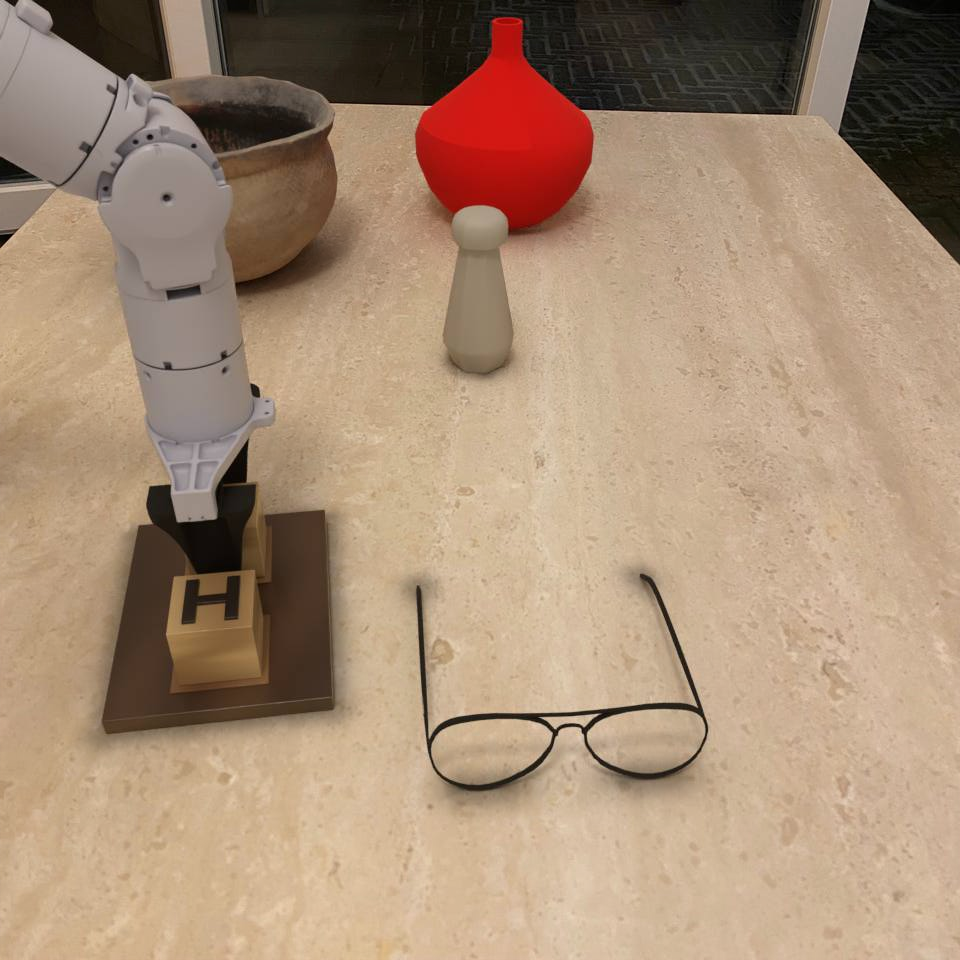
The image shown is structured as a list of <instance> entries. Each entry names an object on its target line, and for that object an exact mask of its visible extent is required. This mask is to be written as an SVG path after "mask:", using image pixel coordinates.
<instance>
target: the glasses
mask: <svg viewBox="0 0 960 960" xmlns="http://www.w3.org/2000/svg"><path fill="white" fill-rule="evenodd" d="M639 577H640V578H641V579H642V580H644V581H646V583H647V584H648V585H649V586H650V587H649V588H651V590H652V593H653V594H654V597H655V599H656V601H657V604H658V606H659V609H660V612H661V614H662V617H663V619H664V621H665V625H666V627H667V630H668V632H669V635H670V637H671V640H672V643H673V645H674V648H675V651H676V653H677V656H678V659H679V662H680V664H681V667H682V670H683V672H684V675H685V679H686V680H687V683H688V685H689V688H690V690H691V693H692V696H693V698H694V701H695V704H696V706H695V705H693V704H690V703H685V702H649V703H641V704H633V705H627V706H617V707H608V708H598V709H589V710H577V711H562V712H561V711H560V712H515V713H514V712H488V713H486V712H485V713H474V714H466V715H460V716H455V717H451V718H448V719H446V720H444V721H442V722H441V723H439V724H438V725H437V726H436V727H435V728H434V730H433V731H432V732H431V735H429V734H430V733H429V729H430V728H429V710H428V709H429V708H428V687H427V686H428V685H427V671H426V670H427V669H426V650H425V649H426V648H425V634H424V633H425V632H424V616H423V599H422V598H423V597H422V589H421V586H420V584H419V585H418V584H417V585H416V587H415V593H416V594H415V597H416V612H417V613H416V614H417V615H416V617H417V634H418V635H417V636H418V653H419V654H418V655H419V672H420V687H421V689H420V690H421V706H422V707H421V708H422V717H423V723H424V732H425V733H424V734H425V742H426V747H427V753H428V757H429V760H430V763H431V766H432V769H433V770H434V772H435V773H436V775H437V776H438V777H439V778H440V779H441V780H443V781H445V782H447V783H448V784H449V785H451V786H454V787H457V788H460V789H466V790H469V791H470V790H472V791H482V790H483V791H484V790H491V789H495V788H498V787H501V786H504V785H507V784H510V783H512V782H514V781H516V780H519V779H521V778H523V777H526V776H527V775H529V774H530V773H532V772H534V771H536V769H538V767H539V766H541V765H542V764H543V763H544V761H545V760H546V759H547V757H548V756H549V755H550V753H551V752H552V750H553V748H554V746H555V741H556V738H557V737H558V736H559V733H560V731H561V730H563V729H566V728H567V729H568V728H577V729H578V728H579V729H581V730H580V732H581V735H583V742H584V746H585V748H586V749H587V751H588V752H589V754H590V755H591V756H592V758H593V759H594V760H595V761H596V762H597V763H598V764H599V765H600V766H601V767H604V768H606V769H608V770H610V771H612V772H616V773H618V774H621V775H624V776H627V777H631V778H636V779H658V778H663V777H667V776H670V775H672V774H675V773H677V772H679V771H681V770H683V769H685V768H686V767H687V766H689V765H690V764H692V762H693V761H695V760H696V759H697V758H698V756H699V754H700V753H702V749H703V747H704V745H705V743H706V742H707V739H708V735H709V724H708V721H707V717H706V715H705V712H704V709H703V705H702V702H701V699H700V697H699V694H698V691H697V688H696V684H695V682H694V679H693V677H692V674H691V671H690V668H689V665H688V663H687V659H686V657H685V655H684V652H683V648H682V647H681V644H680V641H679V638H678V636H677V633H676V630H675V628H674V625H673V623H672V619H671V618H670V615H669V612H668V610H667V608H666V605H665V602H664V600H663V598H662V594H661V592H660V591H659V589H658V586H657V584H656V582H655V581H654V579H653V578H652V577H651V576H649V575H647V574H645V573H640V574H639ZM651 710H654V711H655V710H675V711H676V710H677V711H678V710H679V711H688V712H692V713H694V714H697V715H698V716H699V717H700V718H701V719H702V722H703V724H704V736H703V739H702V741H701V743H700V746H699V747H698V749H697V750H696V752H695V753H694V754H693V755H692V756H691V757H690V758H688V759H687V760H686V761H684V762H683V763H682V764H679V765H677V766H675V767H673V768H670V769H667V770H663V771H657V772H648V773H647V772H638V771H637V772H636V771H631V770H626V769H624V768H621V767H618V766H615V765H613V764H611V763H609V762H607V761H606V760H604V759H602V758H601V757H600V756H599V755H598V754H597V753H596V752H595V751H594V750H593V748H592V747H591V746H590V743H589V742H588V741H589V740H588V732H589V731H590V730H591V729H592V728H593V727H594V726H595V725H596V724H597V723H599V722H601V721H603V720H605V719H609V718H610V717H614V716H617V715H618V716H619V715H621V714H625V713H632V712H633V713H634V712H640V711H641V712H642V711H651ZM592 715H595V716H594V717H592V719H590V720H589V722H587V724H586V725H585V726H584V725H582V724H581V723H577V722H568V723H564V724H560V725H558V726H557V727H556V728H554V727H553V725H552V724H551V723H550V722H549V721H548V720H546V719H544V718H564V717H565V718H568V717H580V716H592ZM491 720H519V721H520V720H521V721H528V722H533V723H537V724H539V725H542V726H544V727H546V728H547V729H548V730H549V732H551V734H552V735H551V739H550V743H549V744H548V746H547V747H546V749H545V750H544V751H543V753H542V754H541V755H540V756H539V757H538V758H537V759H536V760H535V761H534V762H532V763H531V764H530V765H528V766H527V767H526V768H524V769H522V770H520V771H519V772H516V773H514V774H513V775H510V776H508V777H506V778H503V779H500V780H497V781H493V782H490V783H482V784H468V783H463V782H458V781H455V780H452V779H450V778H448V777H446V775H443V774H442V773H441V772H440V771H439V770H438V768H437V767H436V765H435V762H434V759H433V754H432V746H433V742H434V740H435V738H436V737H437V736H438V735H439V734H440V733H441V732H442V731H443V730H445V729H447V728H449V727H452V726H456V725H460V724H465V723H472V722H478V721H491Z"/></svg>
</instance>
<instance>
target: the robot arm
mask: <svg viewBox="0 0 960 960" xmlns="http://www.w3.org/2000/svg"><path fill="white" fill-rule="evenodd" d="M53 25H54V21H53V19H52V16H51V14H50V12H49V11H48V10H46V9H45V8H44V7H42V6H40V5H39V4H38V3H36V2H35V1H34V0H18V1H17V2H16V4H15V5H12V4H11V3H9V2H8V1H6V0H0V158H3V159H4V160H6V161H8V162H10V163H11V164H14V165H15V166H17V167H18V168H21V169H22V170H24V171H26V172H27V173H29V174H31V175H33V176H35V177H37V178H38V179H40V180H42V181H44V182H45V183H47V184H49V185H50V186H53V187H54V188H57V189H58V190H59V191H61V192H63V193H66V194H69V195H73V196H77V197H82V198H86V199H88V200H91V201H92V202H93V201H94V202H98V200H99V202H98V204H97V211H98V214H99V216H100V219H101V221H102V222H103V224H104V226H105V227H106V229H107V231H108V232H109V233H110V236H111V240H112V244H113V249H114V254H115V262H114V266H113V271H114V272H113V273H114V274H113V275H114V279H115V284H116V287H117V291H118V295H119V300H120V304H121V309H122V313H123V318H124V321H125V326H126V330H127V334H128V339H129V343H130V347H131V352H132V356H133V361H134V365H135V370H136V374H137V379H138V383H139V388H140V391H141V396H142V400H143V405H144V408H145V412H146V413H145V415H144V425H145V429H146V433H147V436H148V438H149V441H150V442H151V445H152V447H153V450H155V454H156V455H157V457H158V459H159V461H160V463H161V466H162V467H163V470H164V472H165V474H166V476H167V478H168V480H169V483H170V484H158V485H149V487H148V492H147V497H146V502H145V507H146V511H147V515H148V517H149V520H150V521H151V524H154V525H156V526H157V527H159V528H161V529H162V530H163V531H165V532H166V533H167V534H169V535H170V536H171V537H172V538H173V539H174V540H175V541H176V542H177V543H178V545H179V546H180V547H181V548H182V550H183V551H184V553H185V555H186V556H187V558H188V559H189V561H190V563H191V565H192V566H193V568H194V570H195V571H196V573H197V575H199V574H210V573H221V572H232V571H241V567H242V538H243V533H244V529H245V526H246V524H247V522H248V520H249V518H250V517H251V515H252V512H253V508H254V505H255V497H256V484H251V485H239V486H226V487H224V485H223V484H235V483H247V482H248V458H249V456H248V455H249V443H250V439H251V438H250V437H251V435H252V434H253V432H254V431H255V430H256V429H259V428H268V427H271V426H273V425H274V424H275V423H276V415H277V413H276V412H277V408H276V402H275V399H273V398H271V397H261V391H260V390H261V389H260V387H259V386H258V385H257V384H255V383H252V382H251V381H250V375H249V368H248V360H247V355H246V354H247V353H246V349H245V343H244V342H245V341H244V334H243V328H242V321H241V315H240V310H239V308H240V307H239V302H238V295H237V289H236V283H235V282H234V275H233V269H232V262H231V258H230V255H229V254H228V252H227V251H226V246H225V239H226V233H225V228H224V227H225V225H226V223H227V221H228V219H229V216H230V213H231V209H232V204H233V188H232V187H231V186H230V185H226V179H225V175H224V172H223V169H222V167H221V166H220V164H219V162H218V159H217V158H216V156H215V155H214V153H213V151H212V150H211V148H210V146H209V145H208V143H207V142H206V140H205V138H204V137H203V135H202V133H201V132H200V130H199V129H198V127H197V126H196V124H195V123H194V122H193V121H192V120H191V119H190V117H189V116H188V115H186V114H185V113H184V112H183V111H182V110H181V109H179V108H178V107H177V106H176V105H175V103H174V102H173V100H172V99H171V98H170V97H169V96H167V95H165V94H162V93H159V92H154V91H153V90H152V89H151V87H150V85H149V84H148V83H146V82H145V81H146V80H144V79H142V78H140V77H139V76H138V75H137V74H134V73H131V74H129V75H128V77H127V79H126V80H125V79H123V78H122V77H120V76H119V75H117V74H116V73H114V72H112V71H111V70H109V69H108V68H106V67H105V66H104V65H102V64H101V63H99V62H97V61H96V60H95V59H93V58H91V57H90V56H88V55H87V54H86V53H84V52H82V51H81V50H80V49H78V48H76V47H75V46H74V45H72V44H70V43H69V42H68V41H66V40H64V39H63V38H61V37H60V36H58V35H57V34H55V33H54V32H52V31H51V29H52V27H53ZM99 203H100V204H99Z"/></svg>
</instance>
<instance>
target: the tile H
mask: <svg viewBox="0 0 960 960" xmlns="http://www.w3.org/2000/svg"><path fill="white" fill-rule="evenodd" d="M263 622H264V619H263V613H262V608H261V602H260V596H259V590H258V585H257V579H256V573H255V570H243V571H232V572H221V573H210V574H199V575H188V576H177V577H174V580H173V587H172V594H171V602H170V609H169V616H168V623H167V631H166V637H167V641H168V644H169V648H170V652H171V656H172V660H173V663H174V667H175V671H176V675H177V679H178V682H179V685H190V684H199V683H209V682H219V681H229V680H238V679H248V678H258V677H262V652H263Z"/></svg>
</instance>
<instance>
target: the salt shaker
mask: <svg viewBox="0 0 960 960" xmlns="http://www.w3.org/2000/svg"><path fill="white" fill-rule="evenodd" d="M453 215H454V214H453ZM450 228H451V230H450V231H451V237H452V240H453V241H454V243H455V244H456V245H457V246H458V251H457V256H456V261H455V266H454V271H453V275H452V277H453V278H452V281H451V282H452V283H451V288H450V293H449V299H448V303H447V308H446V309H447V310H446V315H445V318H444V325H443V331H442V341H443V344H444V346H445V348H446V350H447V352H448V355H449V357H450V358H451V360H452V362H453V363H454V364H455V365H456V366H457V367H458V368H459V369H460V370H462V372H464V373H472V374H473V373H475V374H483V375H484V374H488V373H491V372H492V371H494V370H497V369H499V368H501V367H502V366H503V364H504V363H505V360H506V358H507V356H508V355H509V352H510V350H511V348H512V345H513V342H514V341H513V340H514V337H515V331H514V326H513V320H512V319H513V318H512V315H511V309H510V302H509V297H508V292H507V291H508V290H507V286H506V280H505V274H504V268H503V263H502V258H501V257H502V256H501V251H500V247H502V246H504V245H505V244H506V242H507V239H508V234H509V230H508V220H507V217H506V216H505V215H504V214H503V213H502V212H501V211H500V210H499V209H496V208H494V207H490V206H484V205H481V206H470V207H465V208H463V209H461V210H460V211H458V212H457V213H456V214H455V215H454V216H453V218H452V221H451V226H450Z"/></svg>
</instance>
